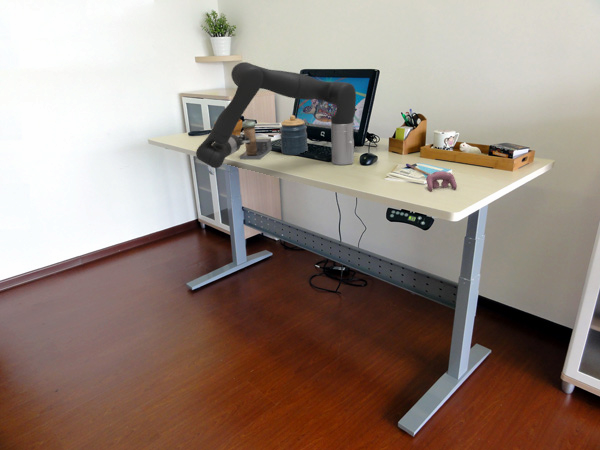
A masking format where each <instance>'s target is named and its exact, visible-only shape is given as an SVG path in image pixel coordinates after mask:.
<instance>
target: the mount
mask: <svg viewBox="0 0 600 450" xmlns="http://www.w3.org/2000/svg"><path fill="white" fill-rule="evenodd" d="M256 147H257V154H255V155H247V154H246V151H244V152H243V153H241V154H240V155H239V160H261V159H263V158H264V157H265V156H266V155H267V154H269V152H271V151H272V150H273V148H272V139H271V138H256Z"/></svg>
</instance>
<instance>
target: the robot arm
mask: <svg viewBox="0 0 600 450" xmlns="http://www.w3.org/2000/svg"><path fill="white" fill-rule="evenodd" d="M230 74H231V79H232V81H233V83H234V85H236V86H237V88H236V91H235V93H234V95H233V98H232V99H231V101H230V102H229V103H228V105H227V106H226V107H225V108H224V109H223V110H222V112H220V114H219V115H218V117H217V119H216V121H215V122H216V123H215V122H214V125H213V127H212V129H211V131H210V132H209V134H208V136H207V137H206V138H205V139H204V141H203V142H202V143H200V145H199V146H198V147H197V149H196V150H195V151H196V152H195V155H196V158H197V160H199V161H201V162H202V163H204V164H207V165H208V166H209V167H211V168H214V169H218V168H220V167H222V165H223V163H224V161H225V158H227V157H228V156H232V155H233V154H235V153H236V152H237V151H239V150H240V147H241V146H243V145H244V144H250V140H249V138H248V137H247V136H246V135H245V134H244V133H242V134H240V135H239V136H238V135H237V136H235V135H233V134H232V133H233V131H234V128H235V126H236V124H237V123H238V121H239V119H241V118H242V116H243V114H244V113H245V111H246V109H247V108H248V106H249V105H250V104H251V102H252V101H253V99H254V97H255V96H256V95H257V94H258V92H259V91H260V89H261V90H267V91H270V92H273V93H275V94H276V95H277V94H278V95H280V96H283V97H287V98H291V99H295V100H296V99H297V100H305V101H306V100H318V101H322V102H326V103H328V104H331V105H335V106H336V112H335V113H334V114H332V115H331V118H330V124H331V125H330V127H331V128H330V129H331V131H330V132H331V133H330V134H331V137H330V138H331V163H332V164H333V165H337V166H338V165H339V166H346V165H352V164H353V163H354V161H355V139H354V117H355V115H356V106H357V105H356V104H357V102H356V101H357V94H356V89H355V86H354V85H353V84H352V83H349V82H343V81H325V80H319V79H317V78H315V77H312V76H309V75H307V74H303V73H297V72H292V71H285V70H277V69H269V68H266V67H265V68H264V67H261V66H259V65H256V64H253V63H250V62H243V61H242V62H238V63H237V64H235V66H234V67H233V68H232V69H231V73H230Z"/></svg>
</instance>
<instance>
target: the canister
mask: <svg viewBox="0 0 600 450" xmlns="http://www.w3.org/2000/svg"><path fill="white" fill-rule="evenodd" d="M280 124H281V127H279V130H280V135H279V137H280V144H281V145H280V146H281V147H280V149H281V154H283V155H287V156H298V155H301V154H300V153H303V152H305V151H307V152H308V149H309V147H308V133H307V129H308V127H307V125H306V124H305V121H304V120H302V119H301V118H296V116H295V115H294V114H291V115H290V116H289V118H287V119H284V120H283V121H282V122H281V123H280Z"/></svg>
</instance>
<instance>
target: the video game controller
mask: <svg viewBox="0 0 600 450" xmlns="http://www.w3.org/2000/svg"><path fill="white" fill-rule="evenodd" d="M425 179H426V185H427V188H428V190H429V192H433V189H437V188H439V187H440V185H441V187H442V188H443V189H444V188H447V187H448V186H449V184H450V186H451V188H452V189H453V190H455V191H456V190H457V181H456V178H455V176H454V174H452V172H451V171H450V172H449V171H442V170H441V171H434V172H431V173H429V174H428V175H427V176H426V177H425ZM439 181H441V183H440V182H439Z"/></svg>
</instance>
